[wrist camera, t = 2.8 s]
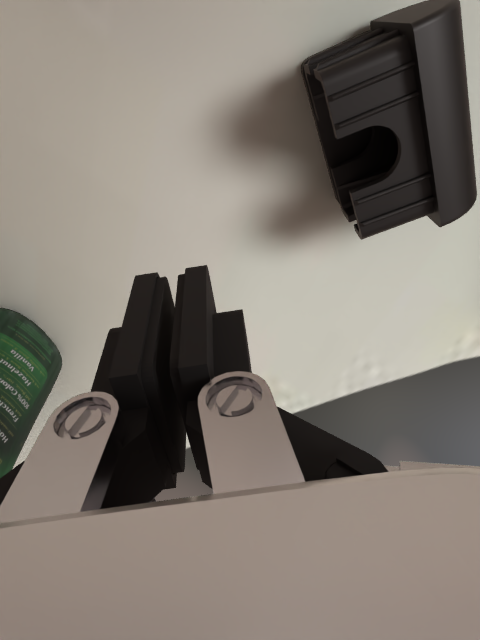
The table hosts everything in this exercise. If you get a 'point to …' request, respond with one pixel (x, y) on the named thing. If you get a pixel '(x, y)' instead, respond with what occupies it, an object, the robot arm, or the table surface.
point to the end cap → (397, 119)
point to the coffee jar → (22, 381)
